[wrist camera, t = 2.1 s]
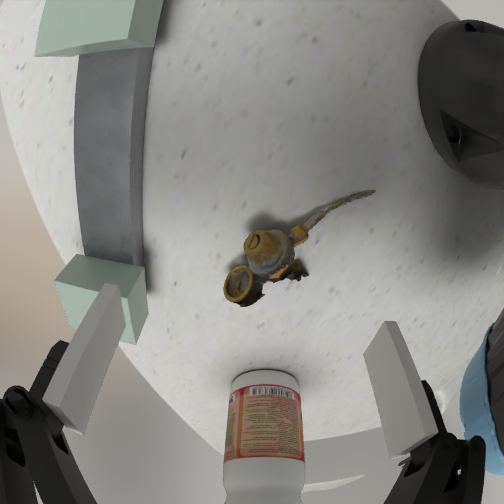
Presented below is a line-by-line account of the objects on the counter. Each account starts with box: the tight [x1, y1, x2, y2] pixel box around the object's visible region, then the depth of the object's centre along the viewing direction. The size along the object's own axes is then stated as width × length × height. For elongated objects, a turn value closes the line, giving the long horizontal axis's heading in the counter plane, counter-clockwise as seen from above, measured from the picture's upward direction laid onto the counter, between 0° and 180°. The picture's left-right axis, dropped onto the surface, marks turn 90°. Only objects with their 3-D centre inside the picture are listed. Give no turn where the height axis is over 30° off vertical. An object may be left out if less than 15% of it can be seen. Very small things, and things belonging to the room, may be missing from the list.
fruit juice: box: [223, 370, 305, 504], centre depth 24 cm, size 9×9×28 cm
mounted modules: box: [35, 0, 164, 345], centre depth 16 cm, size 7×28×4 cm, turn 171°
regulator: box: [223, 190, 376, 307], centre depth 23 cm, size 8×4×15 cm
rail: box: [74, 9, 162, 294], centre depth 19 cm, size 5×28×2 cm, turn 171°
